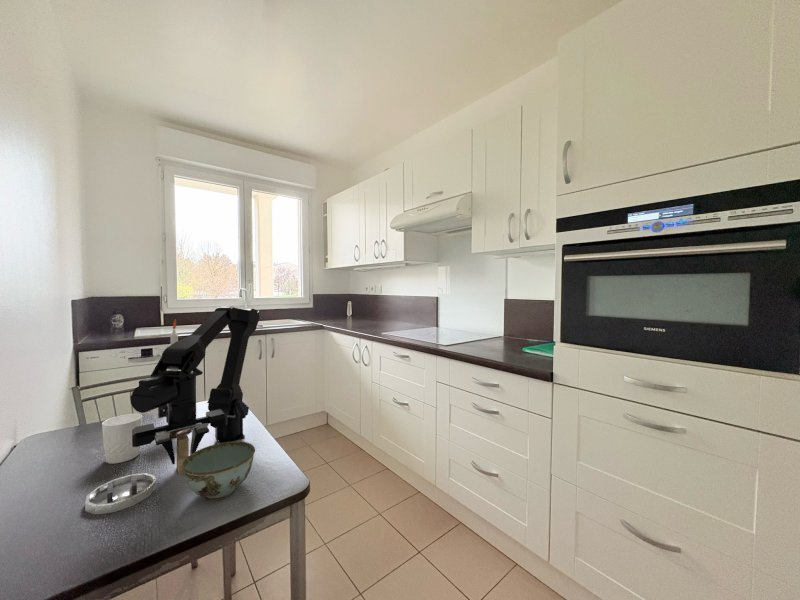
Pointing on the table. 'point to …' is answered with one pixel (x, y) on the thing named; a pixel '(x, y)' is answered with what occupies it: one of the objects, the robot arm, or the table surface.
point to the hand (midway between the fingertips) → (182, 460)
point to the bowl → (218, 469)
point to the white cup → (120, 438)
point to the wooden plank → (182, 450)
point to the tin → (120, 493)
